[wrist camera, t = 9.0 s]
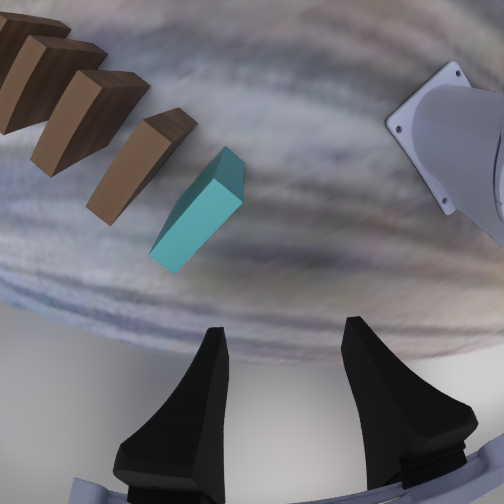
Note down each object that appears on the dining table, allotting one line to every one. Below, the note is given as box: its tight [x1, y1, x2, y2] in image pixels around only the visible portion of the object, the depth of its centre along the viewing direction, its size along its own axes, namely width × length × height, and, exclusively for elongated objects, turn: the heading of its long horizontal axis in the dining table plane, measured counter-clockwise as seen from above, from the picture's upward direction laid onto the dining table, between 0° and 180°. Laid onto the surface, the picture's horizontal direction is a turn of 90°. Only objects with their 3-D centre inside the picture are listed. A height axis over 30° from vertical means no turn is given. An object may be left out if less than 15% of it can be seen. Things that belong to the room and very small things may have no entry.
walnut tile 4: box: [0, 35, 108, 135], centre depth 12 cm, size 2×5×7 cm, turn 137°
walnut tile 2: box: [85, 108, 198, 227], centre depth 15 cm, size 2×5×7 cm, turn 137°
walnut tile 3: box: [30, 70, 151, 177], centre depth 13 cm, size 2×5×7 cm, turn 136°
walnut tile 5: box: [0, 12, 71, 90], centre depth 11 cm, size 2×5×7 cm, turn 137°
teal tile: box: [148, 147, 244, 274], centre depth 16 cm, size 2×5×7 cm, turn 137°
